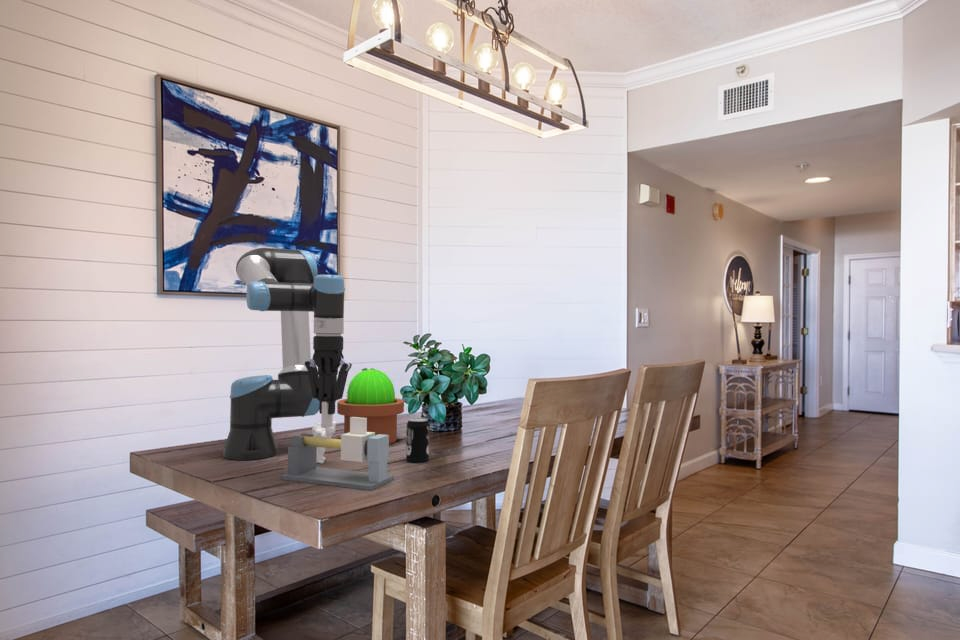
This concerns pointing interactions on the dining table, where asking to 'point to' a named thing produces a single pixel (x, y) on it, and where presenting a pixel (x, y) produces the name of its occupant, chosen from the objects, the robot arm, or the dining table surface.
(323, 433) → the figurine
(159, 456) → the dining table surface
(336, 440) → the grey rod stand
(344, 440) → the sleeve
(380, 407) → the potted cactus
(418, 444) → the beverage can
